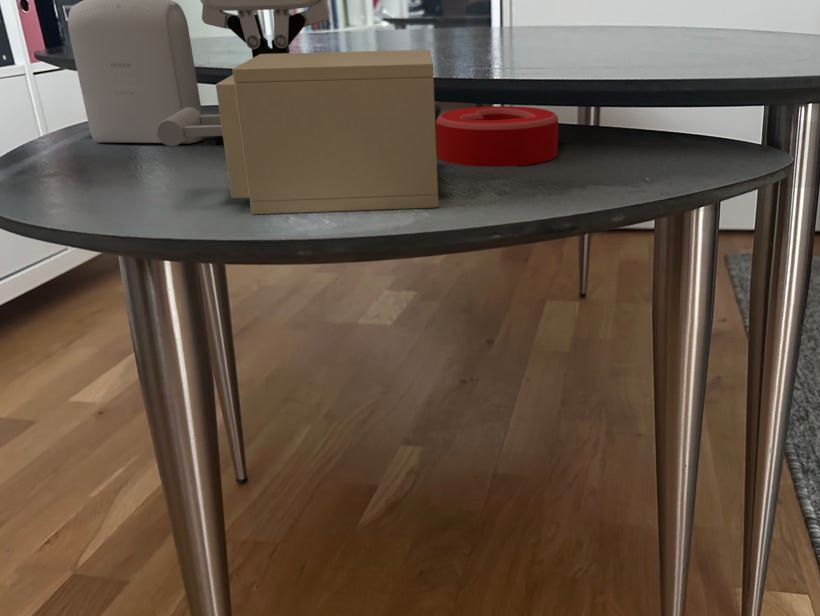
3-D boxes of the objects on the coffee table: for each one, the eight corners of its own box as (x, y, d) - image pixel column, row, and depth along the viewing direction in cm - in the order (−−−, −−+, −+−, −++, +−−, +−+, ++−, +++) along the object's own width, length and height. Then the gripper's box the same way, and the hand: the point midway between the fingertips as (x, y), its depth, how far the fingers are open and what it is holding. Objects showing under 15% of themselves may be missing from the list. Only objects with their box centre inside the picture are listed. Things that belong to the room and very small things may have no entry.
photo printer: (84, 145, 76) (52, -6, 70) (112, 136, 79) (84, -8, 74) (189, 147, 74) (165, -8, 68) (213, 138, 77) (191, -10, 72)
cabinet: (251, 214, 53) (231, 68, 49) (274, 180, 61) (259, 53, 58) (438, 207, 53) (433, 63, 50) (434, 174, 62) (429, 49, 58)
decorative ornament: (558, 166, 64) (559, 123, 62) (431, 167, 64) (429, 124, 63) (556, 143, 72) (557, 104, 71) (443, 143, 73) (442, 105, 72)
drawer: (160, 201, 52) (140, 86, 50) (192, 172, 60) (176, 71, 57) (401, 192, 53) (394, 79, 50) (402, 165, 61) (396, 65, 58)
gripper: (138, -147, 64) (180, 104, 72) (337, -151, 65) (357, 98, 73) (165, -136, 71) (200, 92, 79) (344, -139, 72) (362, 87, 80)
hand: (275, 94), depth 76 cm, fingers closed
